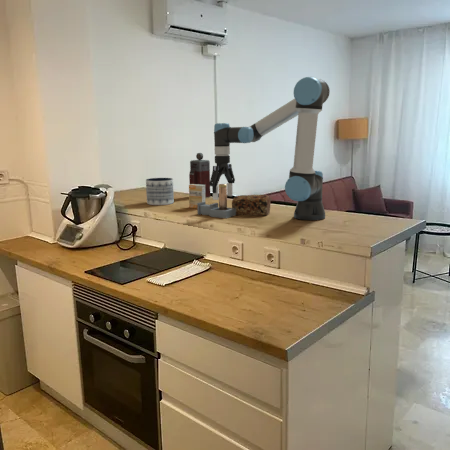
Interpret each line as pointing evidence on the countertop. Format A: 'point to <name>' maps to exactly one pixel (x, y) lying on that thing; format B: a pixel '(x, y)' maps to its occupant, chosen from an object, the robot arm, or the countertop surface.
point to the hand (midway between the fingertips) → (222, 197)
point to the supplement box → (196, 195)
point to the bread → (251, 204)
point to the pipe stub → (222, 196)
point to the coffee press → (200, 173)
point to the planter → (159, 191)
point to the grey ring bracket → (215, 210)
